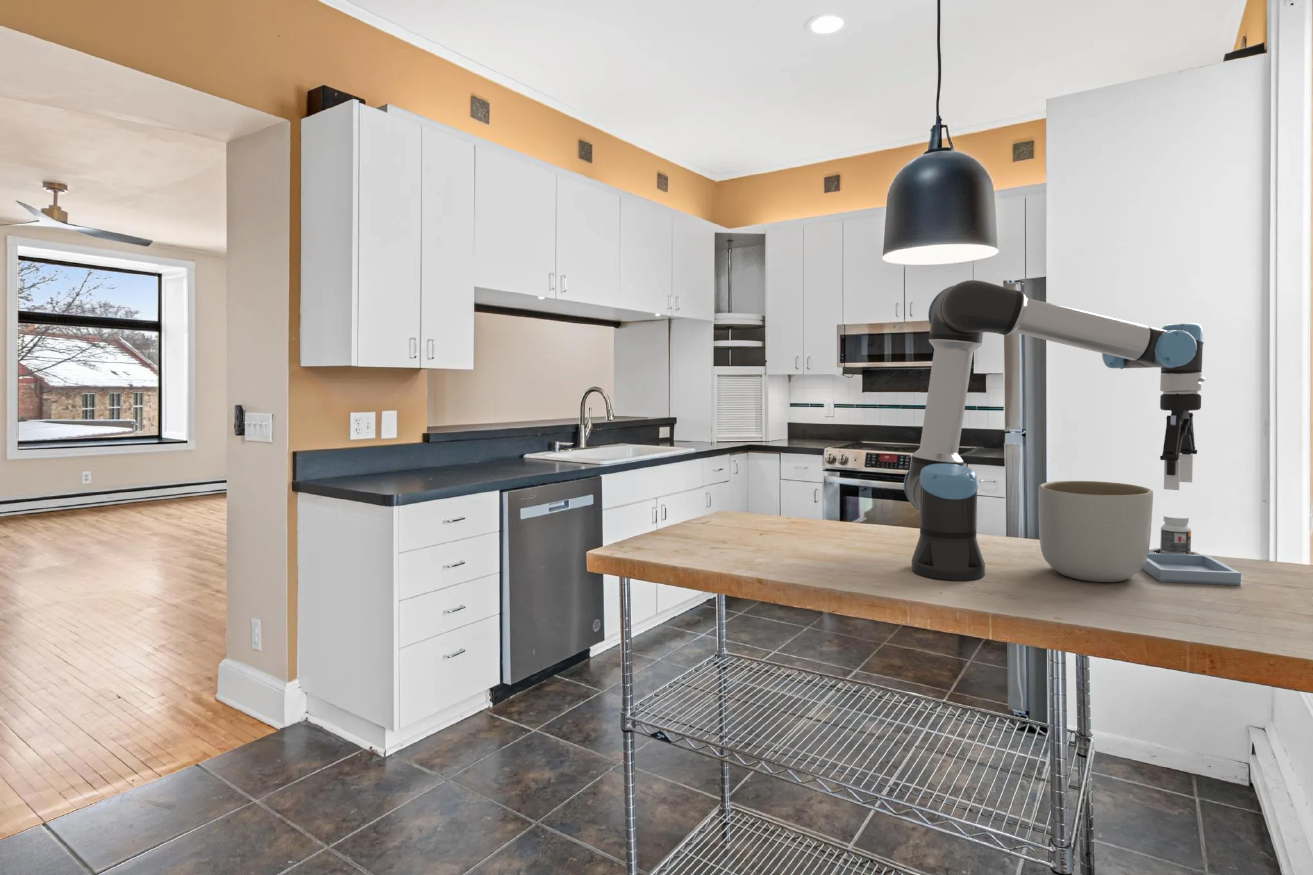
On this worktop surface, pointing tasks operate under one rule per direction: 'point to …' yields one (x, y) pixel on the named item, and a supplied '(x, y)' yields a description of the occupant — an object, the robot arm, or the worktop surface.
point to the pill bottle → (1175, 535)
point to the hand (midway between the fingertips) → (1178, 485)
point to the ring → (1159, 551)
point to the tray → (1190, 569)
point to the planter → (1095, 528)
